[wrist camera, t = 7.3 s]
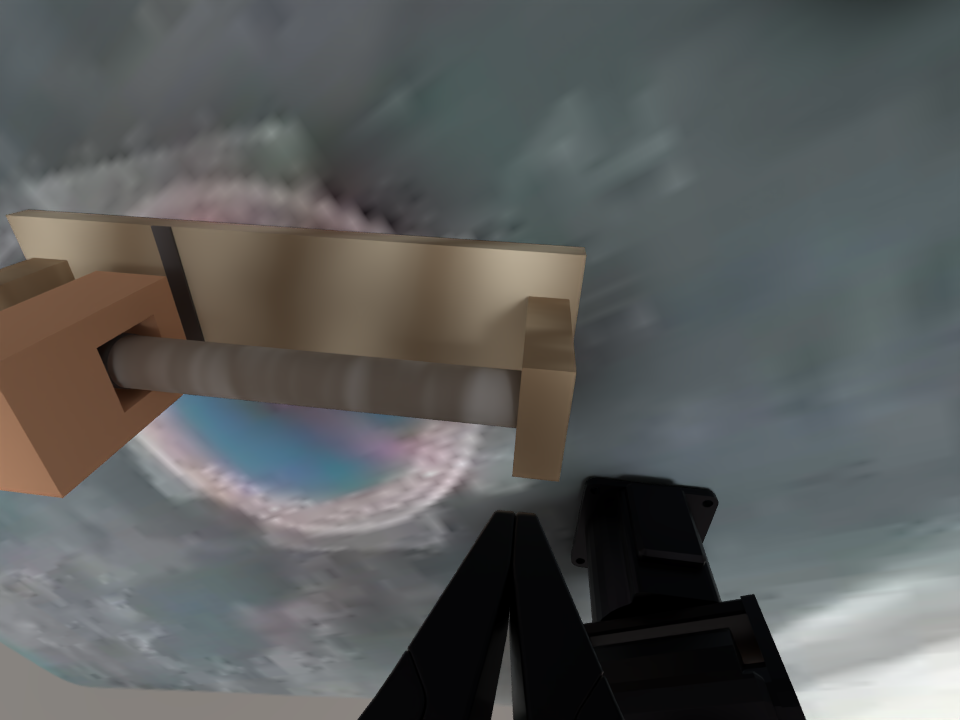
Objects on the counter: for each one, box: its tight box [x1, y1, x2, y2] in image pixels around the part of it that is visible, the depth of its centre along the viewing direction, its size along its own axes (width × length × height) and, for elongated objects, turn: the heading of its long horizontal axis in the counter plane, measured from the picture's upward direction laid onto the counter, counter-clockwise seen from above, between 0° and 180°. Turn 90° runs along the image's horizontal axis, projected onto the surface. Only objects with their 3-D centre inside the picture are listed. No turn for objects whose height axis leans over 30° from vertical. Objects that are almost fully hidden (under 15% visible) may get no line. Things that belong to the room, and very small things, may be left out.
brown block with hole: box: [0, 271, 186, 498], centre depth 17 cm, size 3×5×7 cm, turn 178°
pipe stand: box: [0, 210, 586, 482], centre depth 19 cm, size 24×8×6 cm, turn 88°
